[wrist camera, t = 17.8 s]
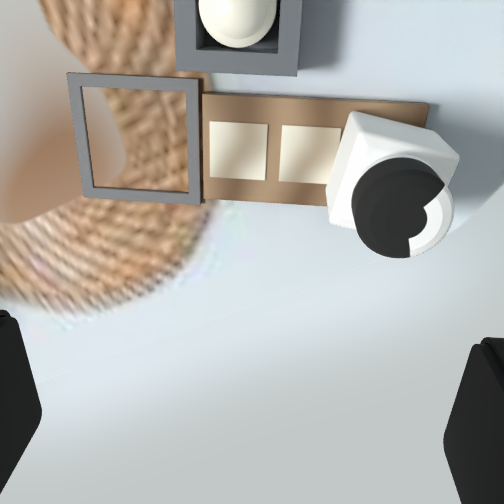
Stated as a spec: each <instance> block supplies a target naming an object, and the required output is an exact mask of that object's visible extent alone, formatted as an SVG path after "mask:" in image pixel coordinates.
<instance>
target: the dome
mask: <svg viewBox="0 0 504 504" xmlns="http://www.w3.org/2000/svg"><path fill="white" fill-rule="evenodd" d="M277 11H278V0H199V12H200V16H201V19H202V22H203V24H204V26H205V28H206V30H207V31H208V32H209V34H210V35H211V36H212V37H213V38H214V39H215V40H217V41H218V42H220V43H221V44H224V45H226V46H229V47H235V48H242V47H247V46H250V45H252V44H254V43H256V42H258V41H259V40H260V39H261V38H263V37H264V36H265V35H266V34H267V32H268V31H269V30H270V29H271V27H272V25H273V24H274V22H275V19H276V16H277Z"/></svg>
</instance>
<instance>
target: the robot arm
mask: <svg viewBox="0 0 504 504" xmlns="http://www.w3.org/2000/svg"><path fill="white" fill-rule="evenodd" d="M41 416H42V408H41V404H40V401H39V397H38V393H37V389H36V386H35V382H34V379H33V375H32V371H31V368H30V364H29V360H28V357H27V353H26V350H25V346H24V342H23V339H22V335H21V332H20V328H19V324H18V322H17V320H16V319H15V318H13V317H11V316H10V314H9V313H8V312H7V311H6V310H0V494H1V492H2V490H3V488H4V486H5V485H6V483H7V481H8V479H9V478H10V476H11V474H12V472H13V470H14V469H15V467H16V465H17V463H18V461H19V460H20V458H21V456H22V454H23V452H24V451H25V449H26V447H27V445H28V444H29V442H30V440H31V438H32V437H33V435H34V433H35V431H36V429H37V428H38V425H39V423H40V420H41ZM443 440H444V441H443V444H444V452H445V455H446V458H447V461H448V464H449V467H450V470H451V473H452V476H453V479H454V482H455V485H456V488H457V491H458V494H459V497H460V500H461V503H462V504H504V338H490V337H486V338H484V339H483V340H482V341H481V343H480V344H475V345H473V346H472V348H471V351H470V354H469V357H468V361H467V364H466V367H465V370H464V373H463V376H462V380H461V383H460V386H459V389H458V392H457V396H456V399H455V402H454V405H453V408H452V411H451V414H450V417H449V421H448V424H447V427H446V430H445V433H444V439H443Z"/></svg>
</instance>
